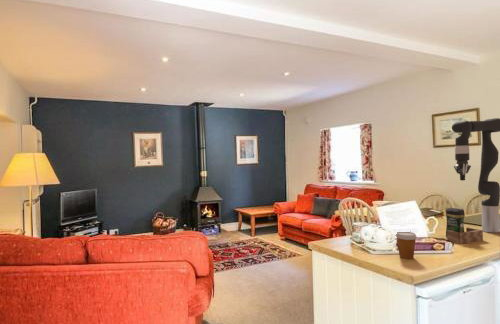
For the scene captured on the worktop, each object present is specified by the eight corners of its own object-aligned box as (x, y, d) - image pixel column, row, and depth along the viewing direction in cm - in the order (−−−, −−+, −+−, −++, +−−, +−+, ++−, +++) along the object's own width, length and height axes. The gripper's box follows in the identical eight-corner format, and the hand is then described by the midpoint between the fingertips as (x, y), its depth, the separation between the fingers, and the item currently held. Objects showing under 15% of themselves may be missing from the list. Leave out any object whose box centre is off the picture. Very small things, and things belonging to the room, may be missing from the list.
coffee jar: (443, 237, 199) (442, 207, 199) (451, 236, 203) (450, 206, 203) (459, 241, 191) (459, 209, 191) (467, 239, 194) (466, 208, 194)
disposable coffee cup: (416, 261, 155) (415, 236, 155) (394, 258, 160) (394, 234, 160) (417, 256, 164) (417, 232, 163) (397, 253, 169) (397, 230, 168)
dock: (468, 237, 199) (467, 227, 199) (482, 240, 191) (482, 230, 191) (447, 240, 193) (446, 230, 193) (461, 243, 184) (461, 233, 184)
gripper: (463, 153, 209) (463, 179, 210) (449, 153, 205) (449, 180, 205) (475, 152, 202) (475, 180, 203) (460, 152, 198) (461, 181, 198)
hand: (462, 180), depth 204 cm, fingers closed
